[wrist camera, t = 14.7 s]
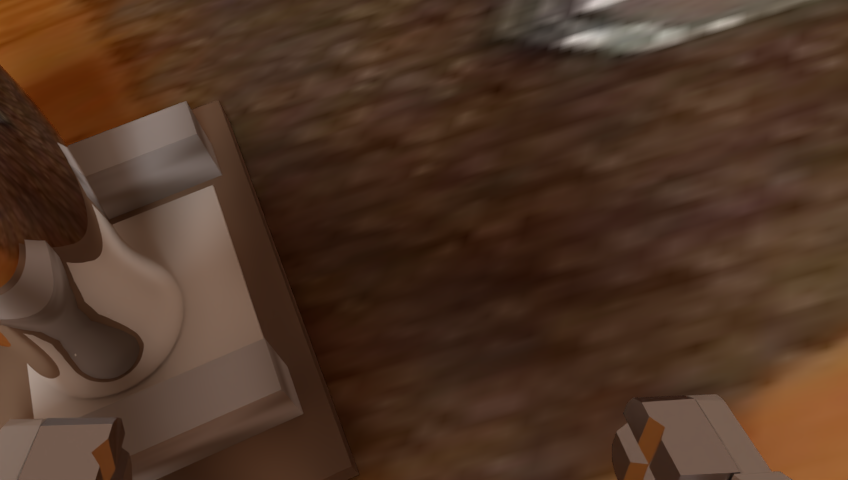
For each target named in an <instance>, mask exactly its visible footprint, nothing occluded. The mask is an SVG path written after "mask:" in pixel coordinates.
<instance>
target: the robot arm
mask: <svg viewBox="0 0 848 480" xmlns="http://www.w3.org/2000/svg"><path fill="white" fill-rule="evenodd" d="M623 414H624V416H625V418H626V421H627V423H626V424H625V425H624V426H623V427H621V428H620V429H619V430H618V431H616V434H615V438H614V441H613V444H612V462H613V466H614V471H615V474H616V477H617V479H618V480H792V479H790V478H789V477H787V476H786V475H784V474H783V473H781V472H772V471H771V470H770V468H769V467H768V465H767V464H766V462H765V461H764V459H763V458H762V456H761V455H760V453H759V452H758V450H757V449H756V447H755V446H754V444H753V443H752V441H751V440H750V438H749V437H748V436H747V434H746V433H745V431H744V430H743V428H742V427H741V425H740V424H739V422H738V421H737V419H736V418H735V416H734V415H733V413H732V412H731V410H730V409H729V407H728V406H727V404H726V403H725V401H724V400H723V399H722V398H721V397H719V396H718V395H716V394H714V395H689V396H684V395H682V396H662V397H641V398H632V399H631V400H630V401H629V402H628V403H627V405H626V407H625V410H624V413H623ZM124 436H125V430H124V426H123V422H122V419H121V418H118V417H103V418H47V419H10V420H9V421H8V422H7V423H6V424H5V425H4V426H3V427H2V428H1V429H0V480H132V463H131V458H130V453H129V452H127V451H126V450H124V449H123V448H122V444H123V440H124Z"/></svg>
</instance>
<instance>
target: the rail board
mask: <svg viewBox="0 0 848 480" xmlns="http://www.w3.org/2000/svg"><path fill="white" fill-rule="evenodd" d="M68 148H69V149H70V151H71V153H72V154H73V156H74V157H75V159H76V160H77V162H78V164H79V165H80V167H81V169H82V171H83V172H84V174H85V176H86V178H87V180H88V181H89V183H90V185H91V187H92V188H93V190H94V192H95V194H96V196H97V198H98V200H99V201H100V203H101V205H102V207H103V209H104V211H105V213H106V214H107V216H108V218H109V219H110V221H111V223H112V224H113V226H114V228H115V230H116V231H117V232H118V233H119V235H120V236H121V237H122V238H123V240H125V241H126V242H127V243H128V244H129V245H130V246H132V247H133V248H134V249H136V250H138V251H139V252H141V253H143V254H144V255H146V256H148V257H149V258H151V259H153V260H154V261H156V262H157V263H159V264H160V265H162V266H163V267H164V268H165V269H166V270H167V271H168V272H169V273H170V274H171V275H172V276H173V277H174V279H175V280H176V282H177V284H178V286H179V288H180V291H181V294H182V298H183V304H184V316H183V322H182V327H181V330H180V333H179V336H178V339H177V341H176V343H175V345H174V347H173V349H172V350H171V352H170V353H169V355H168V356H167V358H166V359H165V360H164V361H163V363H162V364H161V365H160V366H159V367H158V368H157V369H156V370H155V371H154V372H153V373H152V374H151V375H149V376H148V377H147V378H146V379H144V380H143V381H142V382H140V383H139V384H137V385H135V386H134V387H132V388H130V389H128V390H126V391H123V392H121V393H118V394H115V395H112V396H108V397H103V398H95V399H86V398H77V397H72V396H69V395H66V394H63V393H61V392H59V391H57V390H56V389H54V388H52V387H51V386H50V385H48V384H47V383H46V382H45V381H44V380H43V379H42V378H41V377H40V376H39V375H38V374H37V373H36V372H35V371H34V370H33V369H32V368H31V367H30V366H29V365H28V364H27V363H26V362H25V361H24V360H23V359H22V358H21V357H20V356H19V355H17V354H15V353H14V352H12V351H11V350H8V349H6V348H4V347H2V346H0V429H1V428H2V427H3V426H4V425H5V424H6V423H7V422H8V421H9V420H10V419H47V418H103V417H118V418H121V419H122V422H123V426H124V430H125V436H124V440H123V444H122V448H123V449H124V450H126V451H127V452H129V453H130V458H131V463H132V480H348V479H350V478H352V477H355V476H357V475H359V472H358V469H357V467H356V464H355V461H354V458H353V456H352V453H351V450H350V447H349V445H348V442H347V439H346V437H345V434H344V431H343V428H342V426H341V423H340V420H339V418H338V415H337V412H336V409H335V407H334V404H333V401H332V399H331V396H330V393H329V390H328V388H327V385H326V382H325V380H324V377H323V374H322V371H321V369H320V366H319V363H318V361H317V358H316V355H315V352H314V350H313V347H312V344H311V342H310V339H309V336H308V333H307V331H306V328H305V325H304V323H303V320H302V317H301V314H300V312H299V309H298V306H297V304H296V301H295V298H294V295H293V293H292V290H291V287H290V285H289V282H288V279H287V276H286V274H285V271H284V268H283V266H282V263H281V260H280V257H279V255H278V252H277V249H276V246H275V244H274V241H273V238H272V236H271V233H270V230H269V227H268V225H267V222H266V219H265V217H264V214H263V211H262V208H261V206H260V203H259V200H258V198H257V195H256V192H255V189H254V187H253V184H252V181H251V179H250V176H249V173H248V170H247V168H246V165H245V162H244V160H243V157H242V154H241V151H240V149H239V146H238V143H237V141H236V138H235V135H234V132H233V130H232V127H231V124H230V122H229V119H228V117H227V115H226V113H225V111H224V110H223V108H222V106H221V104H220V102H219V100H216V101H214V102H211V103H208V104H206V105H203V106H200V107H198V108H195V109H193V110H191V109H190V107H189V105H188V103H187V102H186V101H185V102H182V103H180V104H177V105H174V106H172V107H169V108H166V109H164V110H161V111H158V112H156V113H153V114H150V115H148V116H145V117H142V118H140V119H137V120H134V121H132V122H129V123H127V124H124V125H121V126H119V127H116V128H113V129H111V130H108V131H105V132H103V133H100V134H97V135H95V136H92V137H89V138H87V139H84V140H81V141H79V142H76V143H74V144H71V145H68Z"/></svg>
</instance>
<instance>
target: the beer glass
mask: <svg viewBox="0 0 848 480" xmlns="http://www.w3.org/2000/svg"><path fill="white" fill-rule="evenodd" d="M183 316H184V304H183V298H182V294H181V291H180V288H179V286H178V284H177V282H176V280H175V279H174V277H173V276H172V275H171V274H170V273H169V272H168V271H167V270H166V269H165V268H164V267H163V266H162V265H160V264H159V263H157V262H156V261H154V260H153V259H151V258H149V257H148V256H146V255H144V254H143V253H141V252H139V251H138V250H136V249H134V248H133V247H132V246H130V245H129V244H128V243H127V242H126V241H125V240H123V238H122V237H121V236H120V235H119V233H118V232H117V231H116V230H115V228H114V226H113V224H112V223H111V221H110V219H109V218H108V216H107V214H106V213H105V211H104V209H103V207H102V205H101V203H100V201H99V200H98V198H97V196H96V194H95V192H94V190H93V188H92V187H91V185H90V183H89V181H88V180H87V178H86V176H85V174H84V172H83V171H82V169H81V167H80V165H79V164H78V162H77V160H76V159H75V157H74V156H73V154H72V153H71V151H70V149H69V148H68V146H67V145H66V143H65V142H64V140H63V139H62V137H61V136H60V134H59V132H58V131H57V129H56V128H55V127H54V126H53V124H52V123H51V122H50V121H49V119H48V118H47V117H46V116H45V114H44V113H43V112H42V111H41V110H40V108H39V107H38V106H37V105H36V103H35V102H34V101H33V100H32V98H31V97H30V96H29V95H28V94H27V92H26V91H25V90H24V89H23V88H22V87H21V86H20V85H19V84H18V83H17V82H16V81H15V80H14V79H13V78H12V76H11V75H10V74H9V73H8V72H7V71H6V70H5V69H4V68H3V67H2V66H1V65H0V346H2V347H4V348H6V349H8V350H11V351H12V352H14V353H15V354H17V355H19V356H20V357H21V358H22V359H23V360H24V361H25V362H26V363H27V364H28V365H29V366H30V367H31V368H32V369H33V370H34V371H35V372H36V373H37V374H38V375H39V376H40V377H41V378H42V379H43V380H44V381H45V382H46V383H47V384H48V385H50V386H51V387H52V388H54V389H56V390H57V391H59V392H61V393H63V394H66V395H69V396H72V397H77V398H86V399H95V398H103V397H108V396H112V395H115V394H118V393H121V392H123V391H126V390H128V389H130V388H132V387H134V386H135V385H137V384H139V383H140V382H142V381H143V380H144V379H146V378H147V377H148V376H149V375H151V374H152V373H153V372H154V371H155V370H156V369H157V368H158V367H159V366H160V365H161V364H162V363H163V361H164V360H165V359H166V358H167V356H168V355H169V353H170V352H171V350H172V349H173V347H174V345H175V343H176V341H177V339H178V336H179V333H180V330H181V327H182V322H183Z"/></svg>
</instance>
